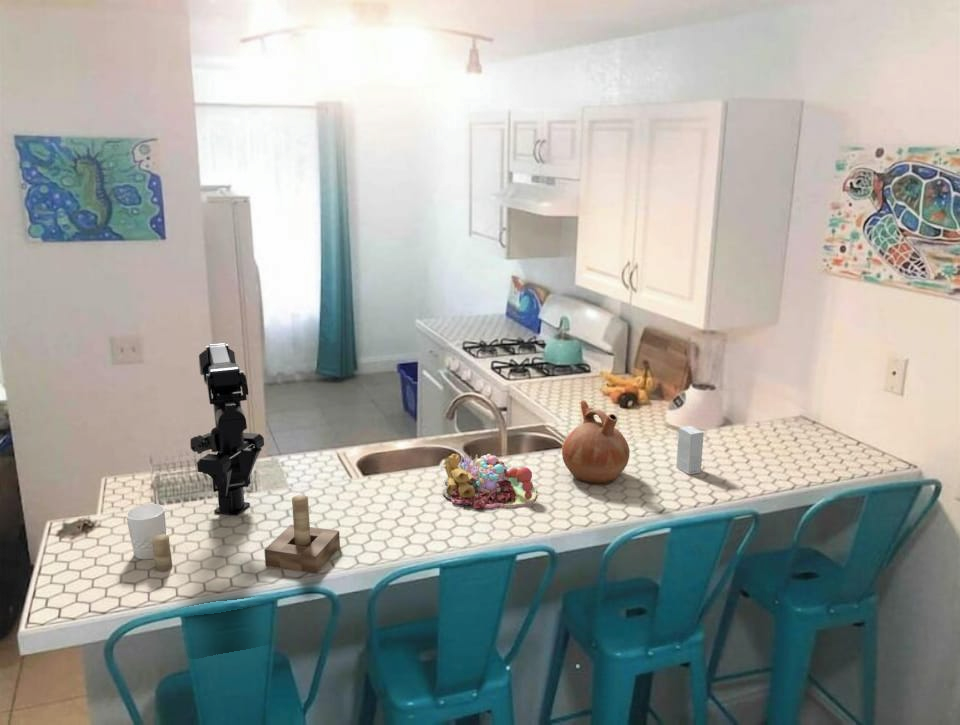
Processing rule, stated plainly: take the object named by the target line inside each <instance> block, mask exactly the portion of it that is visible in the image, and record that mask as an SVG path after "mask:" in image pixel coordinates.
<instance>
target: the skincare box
mask: <svg viewBox="0 0 960 725" xmlns="http://www.w3.org/2000/svg"><path fill="white" fill-rule="evenodd" d="M704 435H705V434H704V431H702V430H700V429H698V428H696V427H693V426H692V425H688V426H682V427H681V426H680V427H679V428H678V437H677V452H676V453H677V454H676V466H675V468H677V470H678V469H679V471H680V470H681V472H684V473H685V474H687V475H694V474H701V472H702V462H703V460H702V459H703V448H704Z"/></svg>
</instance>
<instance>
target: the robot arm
mask: <svg viewBox="0 0 960 725" xmlns="http://www.w3.org/2000/svg"><path fill="white" fill-rule="evenodd" d="M198 365H199V372H200V373H199V374H200V376H203V382H204V384H205V385H206V388H207V393H208V402H209V405H213V412H214V413H213V414H214V422H215V423H214V424H215V427H213V428H212V429H211V430H210V432H208V433H206V434H203V435H199V434H198V435H197V436H193V437H191V438H190V440H189V441H190V444H189V445H190V449H191V451H192V452H195V453H197V455H200V454H202V453H204V452H206V451H211V453H207V454H206V455H205V456H203V457H200V459H198V461H197V462H196V470H197V472H198V473H202V474H205V475H208V476H209V477H210V479H211V485H212V491H213V493H217V495H218V496H217V501H218V502H217V503H218V507H216V508H215V509H214V510H213V512H214V513H215V514H220V515H221V514H222V515H230V516H238V515H239V514H241V513H242V512H244V511H245V510H246V509H247V508H248V507H249V506H250V505H251V502H248V501H245V493H244V488H248V487H249V485H250V484H251V483H252V482H251V474H252V471H253V469H254V466H255V464H256V462H257V460H258V457H259V455H260V452H261V451H262V448H263V447H264V446H265V438H264V437H263V435H262V434H261V433H251V432H250V433H249V432H244V431H245V430H247V429H248V426H247V418H246V416H245V413H244V411H243V408H242V401H243V402H244V401H248V398H247V396H248V395H249V386H248V380H247V375H246V374H245V373H244V371H243V370H240V367H239V365H238V363H237V362H236V355H235V351H233V350H232V349H231V348H229V343H226V342H219V343H218V342H216V343H210V344H206V346H205V350H203V351H202V352H201V353H199V355H198ZM215 453H216V454H215Z"/></svg>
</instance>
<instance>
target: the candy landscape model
mask: <svg viewBox="0 0 960 725" xmlns="http://www.w3.org/2000/svg"><path fill="white" fill-rule="evenodd" d="M468 458H469V459H468ZM468 458H467V453H465V454H464V455H461V456H460V455H459V454H457V453H452V454H451V455H449V456H447V457H445V460H444V461H445V462H444V463H445V465H444V469H445V473H446V476H447V477H446V479H444V481H443V483H445V484H446V486H447V487H445V488H444V489H442V495H444V496H445V497H446V498H448V499H449V500H450V501H451V503H452V504H459V505H460V504H461V508H464V507H466V506H468V505H472V507H473V510H481V509H494V508H496V507H501V508H505V509H508V508H512V509H513V508H516V507H517V508H518V507H525V506H528V505H531V504H532V503H533V502H535V501H536V498H537V496H538V495H537V492H538V491H537V490H538V489H536V485H535V484H533V481H532V478H533V472H532V471H531V469H530V468H528V467H527V466H522V467H520V468H519V469H518V468H516V467H511V468H510V469H509V470H508V466H507V465H505V462H503V460H500V459H499V458H498V457H497V456H496V455H492V454H491V453H487V454H485V455H481V456H480V458H479V457H478V454H475V458H473V461H472V455H470V457H468Z"/></svg>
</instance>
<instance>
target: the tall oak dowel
mask: <svg viewBox="0 0 960 725" xmlns="http://www.w3.org/2000/svg"><path fill="white" fill-rule="evenodd" d="M291 504H292V505H291V506H292V507H291V508H292V518H293V519H292V520H293V521H292V522H293V525H294V537H295V545H298V546H306V547H308V546H309V545H310V544H311V539H310V527H311V526H310V510H309V497H308V495H304V494H297V495H295V496H293V497H291Z"/></svg>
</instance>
